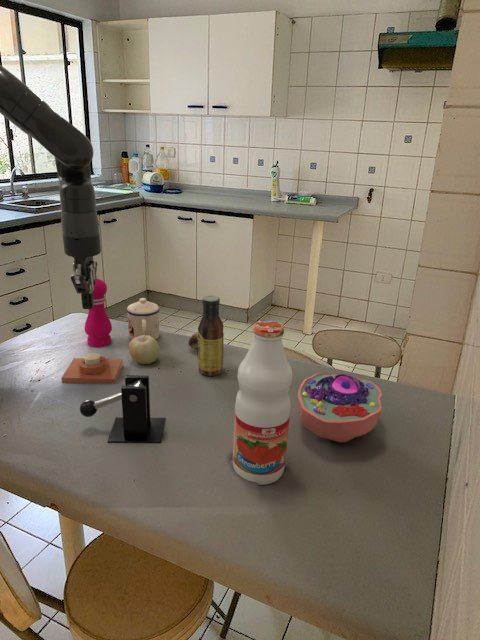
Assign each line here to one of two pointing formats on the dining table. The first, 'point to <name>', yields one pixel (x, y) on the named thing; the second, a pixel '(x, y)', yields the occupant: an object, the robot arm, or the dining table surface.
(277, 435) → the fruit juice
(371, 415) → the cell model
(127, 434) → the bracket
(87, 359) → the button
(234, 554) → the dining table surface
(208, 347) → the sauce bottle
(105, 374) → the tiered orange pedestal
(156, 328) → the teacup with lid
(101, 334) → the pepper mill
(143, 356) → the fruit
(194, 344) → the mushroom
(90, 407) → the tap lever
